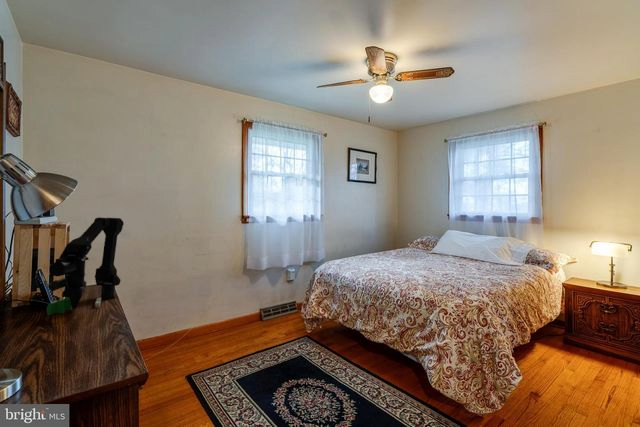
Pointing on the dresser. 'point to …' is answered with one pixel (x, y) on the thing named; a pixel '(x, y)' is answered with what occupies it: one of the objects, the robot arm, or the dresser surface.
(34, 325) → the dresser surface
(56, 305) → the pipe clamp
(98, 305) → the slot rails
